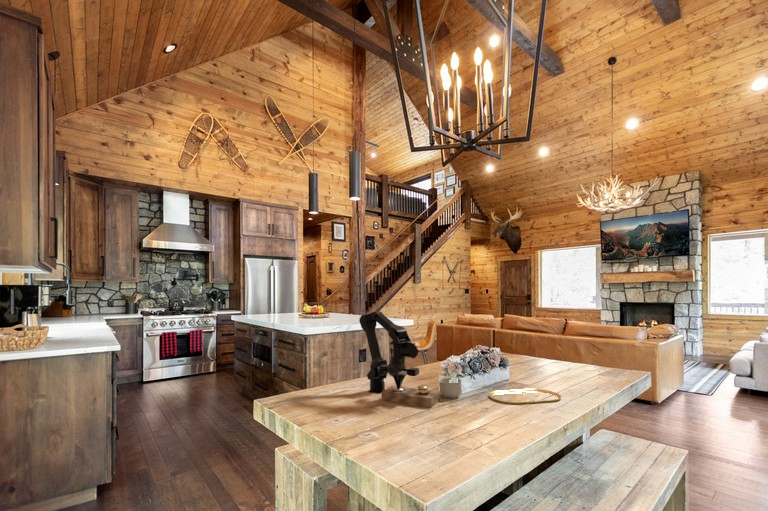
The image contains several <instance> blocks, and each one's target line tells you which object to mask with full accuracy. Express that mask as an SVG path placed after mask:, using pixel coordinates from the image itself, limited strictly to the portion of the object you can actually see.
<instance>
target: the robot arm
mask: <svg viewBox="0 0 768 511" xmlns="http://www.w3.org/2000/svg"><path fill="white" fill-rule="evenodd" d="M358 321H359V324H360V327H361V329H362V330H363V332H365V334H366V335H365V336H366V340H367V344H368V349H369V354H370V358H371V362H370V367H369V368H370V370H369V372H368V373H367V374H366V377H367V380H369V390H368V392H369V393H375V394H382V391H384V390H386V389H385V385H386V384H385V381H384V380H385V379H387V376H388V375H390V376H391V377H392V378H393V380H394V383H395V386H397V389H400V387H402V384H403V382H404V379H405V377H406V376H409V377H416V376H418V375H419V374H420V368H419V367H409V368H407V365H406V359H407V358H410V359H416V357H417V356H418V355H419V349H418V346H416V343H415V342H412V340H411V338H410V336H409V334H408V331H407V329H406V328H405V327H403V326H401V325H398V324H395V323H394V322H393V321H392V320H390V319H389V318H388V316H386V315H384V314H383V312H382V311H373V312H369V313H368V314H361V316H360V317H359V320H358ZM377 323H378V325H380V326H381V327H382V328H383V329H384V330H386V331H387V333H388V337H390V339H391V341H390V343H389V345H392V356H391V361H390V363H389V364H388V361H387V359H384V358H383V357H382V355H381V350H380V346H379V342H378V341H379V340H378V336H377V332H376V327H377Z"/></svg>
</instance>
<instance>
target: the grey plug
mask: <svg viewBox="0 0 768 511" xmlns="http://www.w3.org/2000/svg"><path fill="white" fill-rule="evenodd" d="M394 391H396V392H403V391H404V388H400V389H397V388H394Z"/></svg>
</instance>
